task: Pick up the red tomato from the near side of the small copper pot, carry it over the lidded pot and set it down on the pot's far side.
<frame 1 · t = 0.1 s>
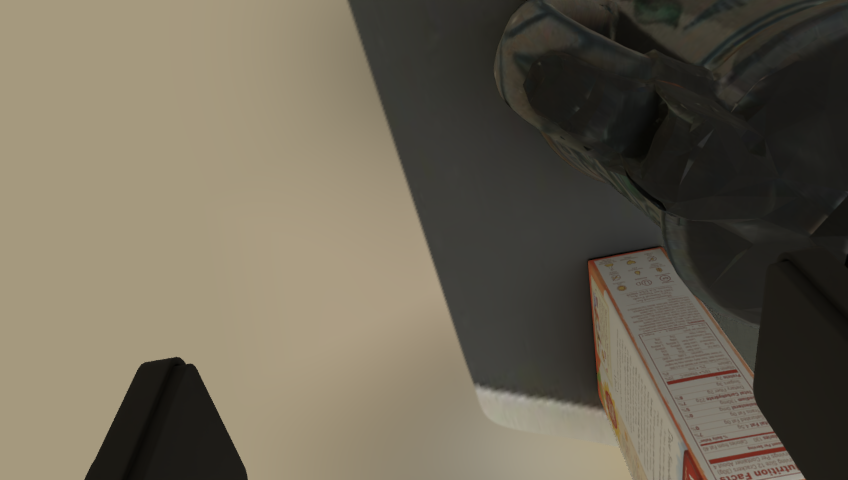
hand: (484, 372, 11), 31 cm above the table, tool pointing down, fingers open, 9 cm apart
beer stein: (623, 42, 39), on the table
cracker box: (628, 321, 51), on the table
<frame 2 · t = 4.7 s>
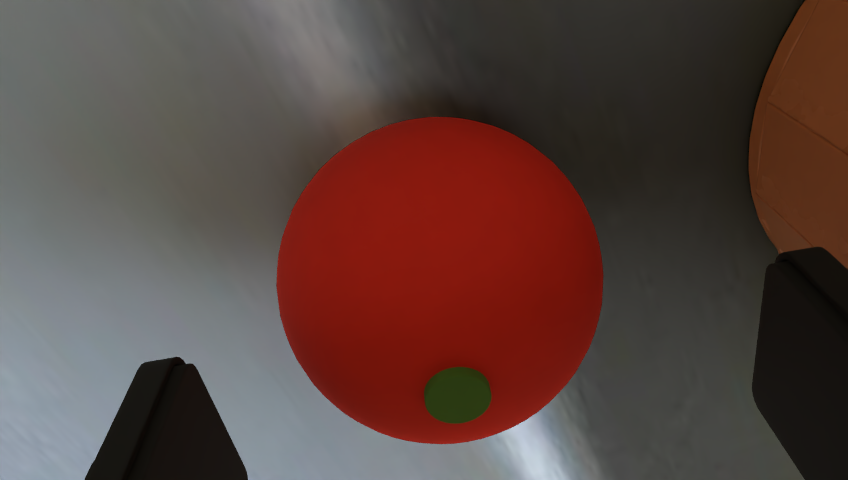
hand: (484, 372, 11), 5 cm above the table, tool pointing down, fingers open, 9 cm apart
tomato: (426, 199, 15), on the table
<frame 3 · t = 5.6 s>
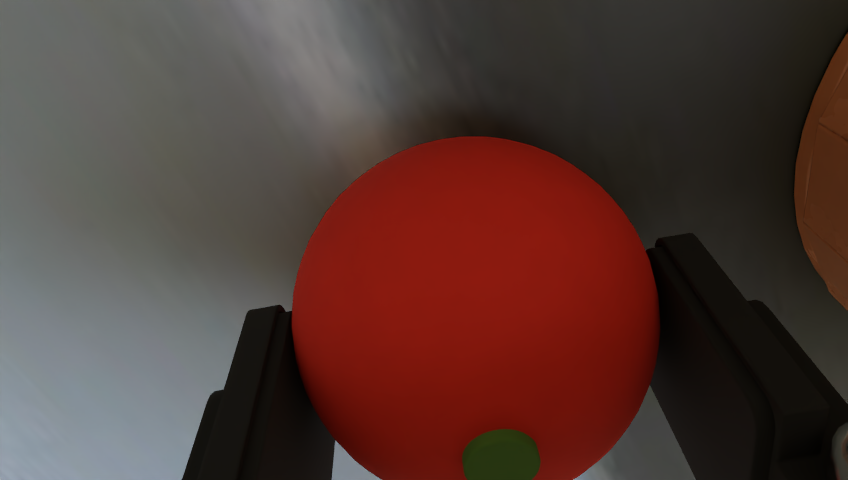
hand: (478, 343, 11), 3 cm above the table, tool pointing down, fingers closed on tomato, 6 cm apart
tomato: (453, 223, 14), on the table, touching gripper
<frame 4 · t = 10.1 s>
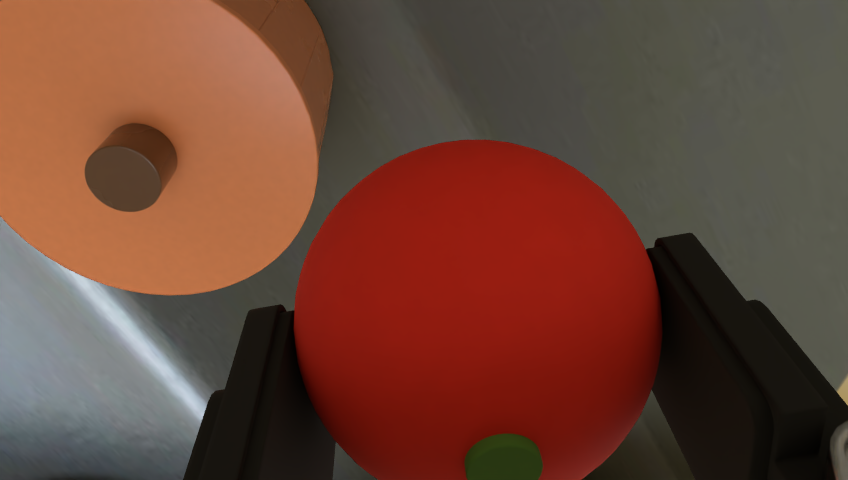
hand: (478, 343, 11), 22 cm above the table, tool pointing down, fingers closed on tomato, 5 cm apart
tomato: (455, 226, 14), point 19 cm above the table, touching gripper
pot lid: (146, 149, 23), point 9 cm above the table, touching pot
pot: (213, 71, 31), on the table
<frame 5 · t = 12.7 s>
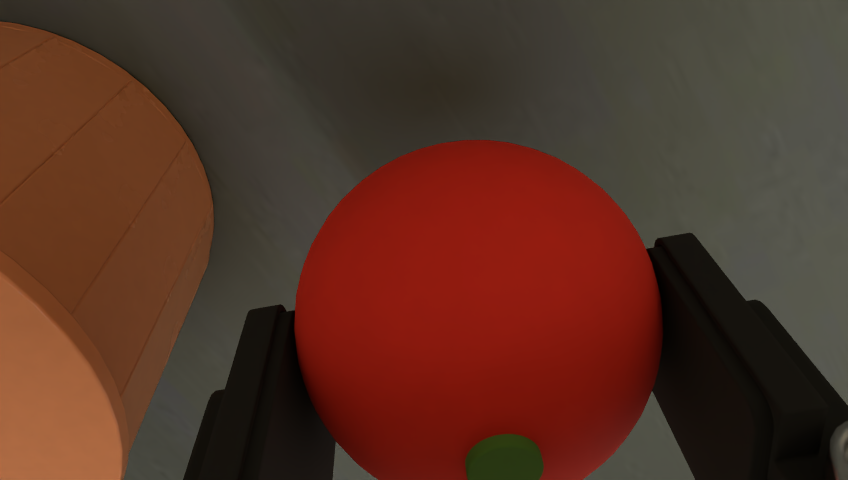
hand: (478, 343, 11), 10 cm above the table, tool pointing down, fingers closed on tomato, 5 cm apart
tomato: (456, 226, 14), point 7 cm above the table, touching gripper
pot: (35, 198, 21), on the table
when the fingers open (3 cm above the table, at t = 14.8 s): tomato stays where it is, on the table.
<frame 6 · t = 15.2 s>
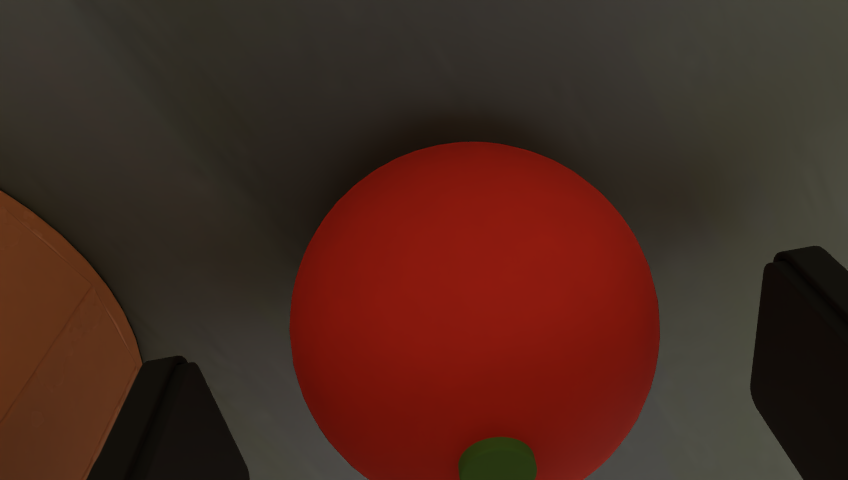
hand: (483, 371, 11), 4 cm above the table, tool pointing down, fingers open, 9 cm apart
tomato: (454, 228, 14), on the table
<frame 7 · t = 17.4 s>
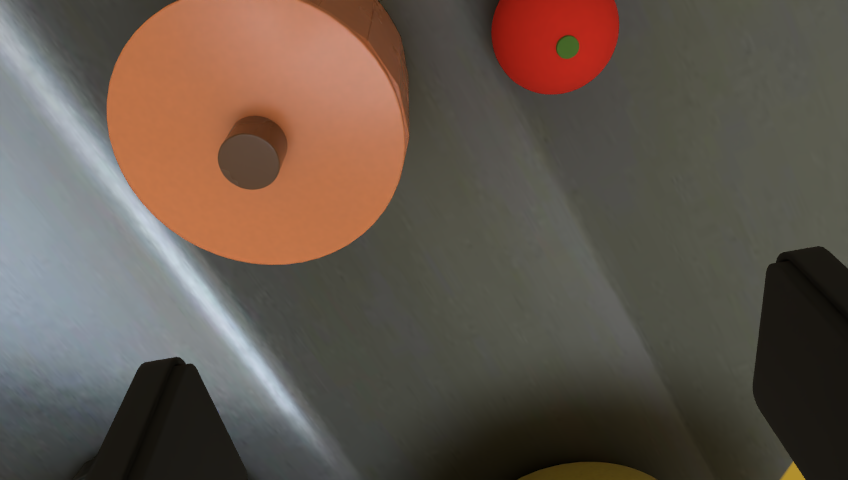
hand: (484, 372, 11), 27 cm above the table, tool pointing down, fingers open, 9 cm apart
tomato: (542, 16, 34), on the table
pot lid: (260, 138, 27), point 9 cm above the table, touching pot
pot: (302, 72, 35), on the table
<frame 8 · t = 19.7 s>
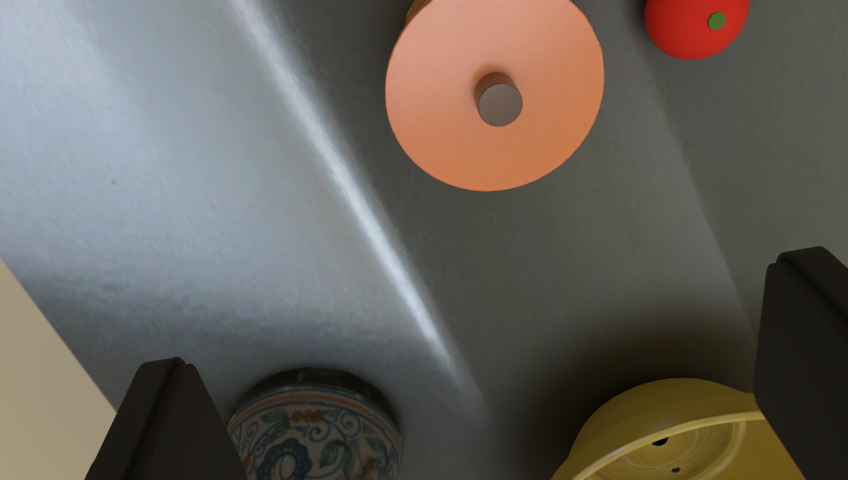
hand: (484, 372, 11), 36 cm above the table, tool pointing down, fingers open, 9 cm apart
planter bowl: (654, 429, 65), on the table
pot lid: (493, 90, 36), point 9 cm above the table, touching pot
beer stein: (301, 428, 62), on the table
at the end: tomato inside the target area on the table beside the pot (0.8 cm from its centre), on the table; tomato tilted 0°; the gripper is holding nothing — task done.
